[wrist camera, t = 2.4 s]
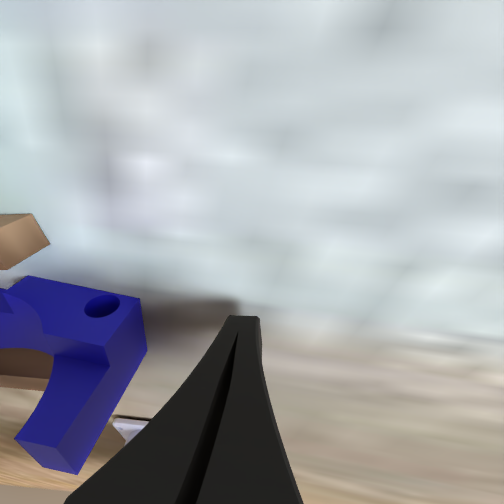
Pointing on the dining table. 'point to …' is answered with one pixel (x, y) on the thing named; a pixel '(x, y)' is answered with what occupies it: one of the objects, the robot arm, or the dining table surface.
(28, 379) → the guide
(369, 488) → the dining table surface
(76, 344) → the cable clip
